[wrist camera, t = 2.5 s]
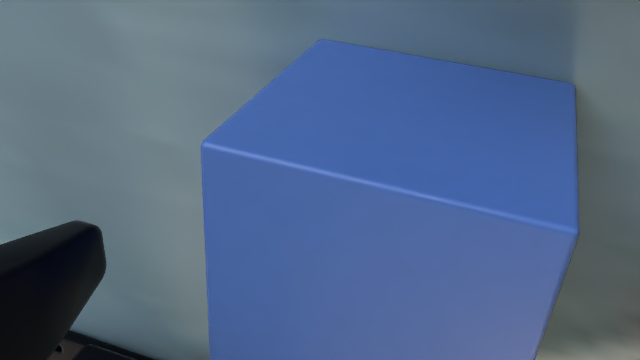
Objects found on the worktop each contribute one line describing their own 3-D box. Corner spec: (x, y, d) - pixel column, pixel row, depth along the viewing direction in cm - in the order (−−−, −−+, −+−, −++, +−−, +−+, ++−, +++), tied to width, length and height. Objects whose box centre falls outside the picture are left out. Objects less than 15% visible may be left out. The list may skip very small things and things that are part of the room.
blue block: (514, 289, 14) (491, 486, 10) (306, 234, 15) (209, 388, 11) (577, 82, 11) (582, 231, 7) (319, 36, 12) (197, 141, 8)
